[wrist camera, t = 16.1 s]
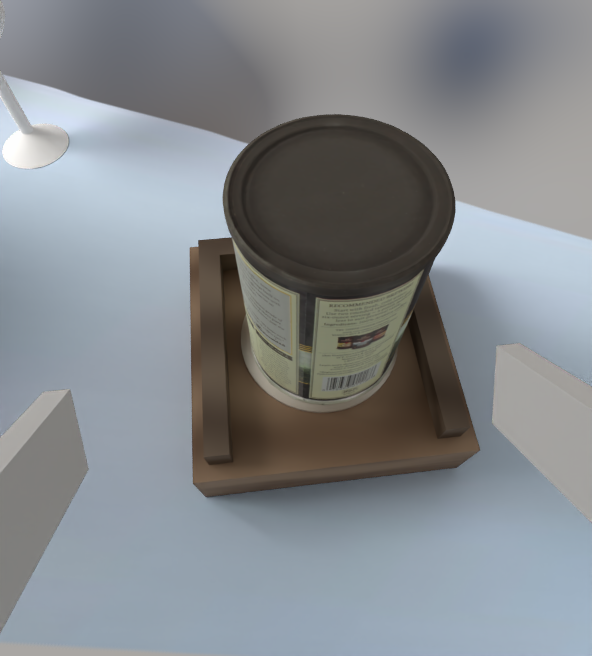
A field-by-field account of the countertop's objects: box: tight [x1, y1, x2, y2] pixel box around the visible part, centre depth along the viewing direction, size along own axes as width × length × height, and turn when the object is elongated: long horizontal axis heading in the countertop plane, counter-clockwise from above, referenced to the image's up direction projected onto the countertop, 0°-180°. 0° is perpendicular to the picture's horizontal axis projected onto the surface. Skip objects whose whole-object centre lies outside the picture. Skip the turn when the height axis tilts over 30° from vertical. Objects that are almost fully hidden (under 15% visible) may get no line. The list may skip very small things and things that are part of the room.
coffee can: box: [223, 114, 455, 405], centre depth 28 cm, size 10×10×14 cm
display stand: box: [190, 238, 480, 497], centre depth 36 cm, size 18×18×7 cm
